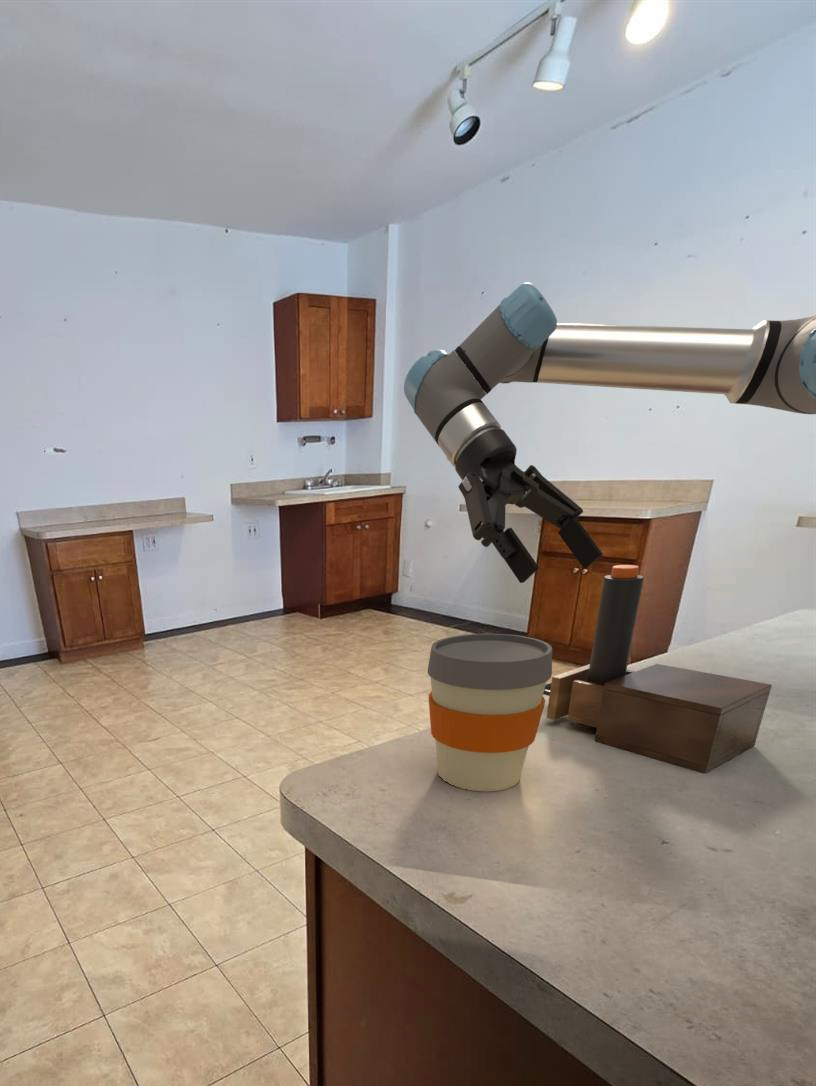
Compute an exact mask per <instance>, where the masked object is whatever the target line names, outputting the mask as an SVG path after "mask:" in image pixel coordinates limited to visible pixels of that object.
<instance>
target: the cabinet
mask: <svg viewBox="0 0 816 1086" xmlns="http://www.w3.org/2000/svg"><path fill="white" fill-rule="evenodd" d="M635 671H636V672H633V673H630V674H628V675H625V676H622V677H619V678H617V679H614V680H611V681H609V682H606V683H605V684H604V690H603V695H602V701H601V707H600V712H599V718H598V724H597V728H596V729H595V730H596V731H595V736H594V741H595V742H598V743H601V744H605V745H608V746H611V747H615V748H617V749H620V750H621V749H622V750H625V751H627V752H631V753H634V754H638V755H642V756H645V757H647V758H652V759H655V760H658V761H662V762H666V763H668V764H672V765H674V766H675V765H676V766H678V767H681V768H685V769H689V770H693V771H696V772H699V773H703V774H706V773H708V772H709V771H712V770H714V769H716V768H717V767H720V766H721V765H722V764H724V763H726V762H728V761H730V760H732V759H733V758H735V757H737V756H739V755H741V754H742V753H744V752H746V751H748V750H750V749H751V748H753V747H755V746H756V741H757V739H758V734H759V731H760V727H761V725H762V721H763V717H764V714H765V710H766V708H767V705H768V704H767V703H768V700H769V696H770V693H771V690H772V686H773V684H771V683H765V682H760V681H753V680H748V679H743V678H738V677H732V676H727V675H721V674H716V673H712V672H711V673H710V672H705V671H700V670H693V669H688V668H683V667H677V666H672V665H667V664H665V665H664V664H661V663H654V664H651V665H649V666H647V667H643V668H640V669H638V670H635Z"/></svg>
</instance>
